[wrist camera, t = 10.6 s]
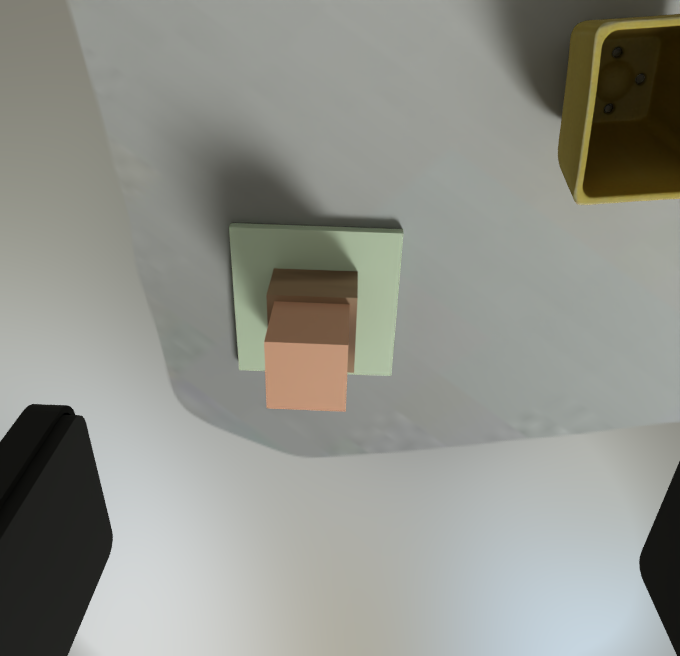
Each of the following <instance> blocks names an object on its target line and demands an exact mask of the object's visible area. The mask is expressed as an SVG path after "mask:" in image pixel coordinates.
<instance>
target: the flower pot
mask: <svg viewBox="0 0 680 656" xmlns="http://www.w3.org/2000/svg"><path fill="white" fill-rule="evenodd" d="M617 47H619V48H621V49H622V54H621V55H620V56H619V57H617V58H615V57H613V55H612V52H613V50H614V49H615V48H617ZM640 74H643V75H644V77H645V79H644V81H643V82H642V83H641V84H637V83H636V81H635V79H636V77H637V76H638V75H640ZM607 104H612V105H613V110H612V111H611V112H609V113H606V112H605V111H604V108H605V106H606V105H607ZM558 160H559V165H560V168H561V171H562V173H563V175H564V178H565V180H566V182H567V185H568V187H569V189H570V192H571V194H572V196H573V198H574V201H575V202H576V203H577V204H579V205H591V204H605V203H619V202H632V201H649V200H664V199H680V14H674V15H660V16H647V17H633V18H618V19H602V20H588V21H583V22H580V23H578V24H577V25H576V26H575V27H574V29H573V31H572V34H571V39H570V49H569V59H568V69H567V78H566V87H565V95H564V104H563V112H562V120H561V128H560V136H559V144H558Z"/></svg>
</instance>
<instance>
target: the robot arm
mask: <svg viewBox="0 0 680 656" xmlns="http://www.w3.org/2000/svg"><path fill="white" fill-rule="evenodd" d="M112 538H113V534H112V529H111V525H110V520H109V516H108V513H107V508H106V504H105V500H104V496H103V492H102V487H101V483H100V479H99V475H98V471H97V467H96V462H95V458H94V454H93V450H92V446H91V442H90V438H89V434H88V429H87V425H86V422H85V419H84V418H83V416H79V415H75V413H74V410H73V409H72V408H71V407H70V406H66V405H41V404H32V405H29V406H28V407H27V408H26V409H25V410H24V411H23V412H22V413H21V415H20V416H19V417H18V419H17V420H16V422H15V423H14V424H13V425H12V427H11V428H10V430H9V431H8V432H7V434H6V435H5V436H4V438H3V439H2V440H1V442H0V656H67V655H68V653H69V651H70V648H71V646H72V644H73V641H74V639H75V636H76V634H77V631H78V629H79V627H80V625H81V622H82V620H83V617H84V615H85V612H86V610H87V608H88V605H89V603H90V601H91V598H92V596H93V593H94V591H95V589H96V586H97V584H98V582H99V579H100V577H101V574H102V572H103V570H104V567H105V565H106V562H107V560H108V558H109V555H110V552H111V548H112V541H113V539H112ZM639 564H640V572H641V576H642V579H643V581H644V583H645V586H646V588H647V590H648V592H649V594H650V597H651V599H652V601H653V603H654V605H655V608H656V610H657V612H658V614H659V617H660V619H661V621H662V623H663V625H664V628H665V630H666V632H667V634H668V636H669V639H670V641H671V643H672V645H673V647H674V650H675V652H676V654H677V656H680V462H679V464H678V466H677V469H676V471H675V474H674V476H673V478H672V481H671V483H670V485H669V488H668V490H667V493H666V495H665V497H664V500H663V502H662V504H661V507H660V509H659V512H658V514H657V516H656V519H655V521H654V524H653V526H652V528H651V531H650V533H649V535H648V538H647V540H646V542H645V545H644V547H643V550H642V552H641V555H640V562H639Z"/></svg>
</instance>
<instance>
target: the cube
mask: <svg viewBox="0 0 680 656" xmlns="http://www.w3.org/2000/svg"><path fill="white" fill-rule="evenodd" d="M349 313H350V304H330V303H305V302H280V301H274V304H273V308H272V312H271V316H270V320H269V324H268V328H267V332H266V336H265V340H264V352H265V377H266V401H267V408H273V409H296V410H320V411H344V412H346V390H347V367H348V343H349Z"/></svg>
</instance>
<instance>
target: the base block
mask: <svg viewBox="0 0 680 656" xmlns="http://www.w3.org/2000/svg"><path fill="white" fill-rule="evenodd" d="M266 297H267V322H268V324H269V320H270V316H271V312H272V308H273V304H274V301H280V302H305V303H330V304H350V313H349V343H348V367H347V373H354V363H355V342H356V321H357V300H358V271H333V270H306V269H279V268H274V269H273V273H272V277H271V280H270V284H269V287H268V291H267V294H266Z"/></svg>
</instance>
